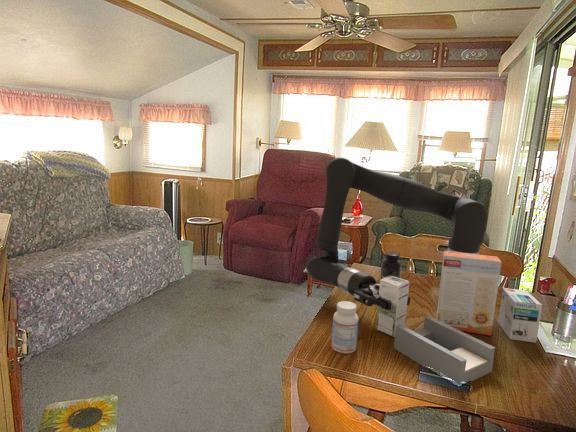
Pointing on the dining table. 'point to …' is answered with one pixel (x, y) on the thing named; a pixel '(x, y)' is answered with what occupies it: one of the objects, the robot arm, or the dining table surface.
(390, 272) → the supplement bottle
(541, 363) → the dining table surface
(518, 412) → the dining table surface
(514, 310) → the light bulb box
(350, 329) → the pill bottle
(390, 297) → the syrup box
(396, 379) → the dining table surface
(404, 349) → the trap lane
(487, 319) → the cracker box
